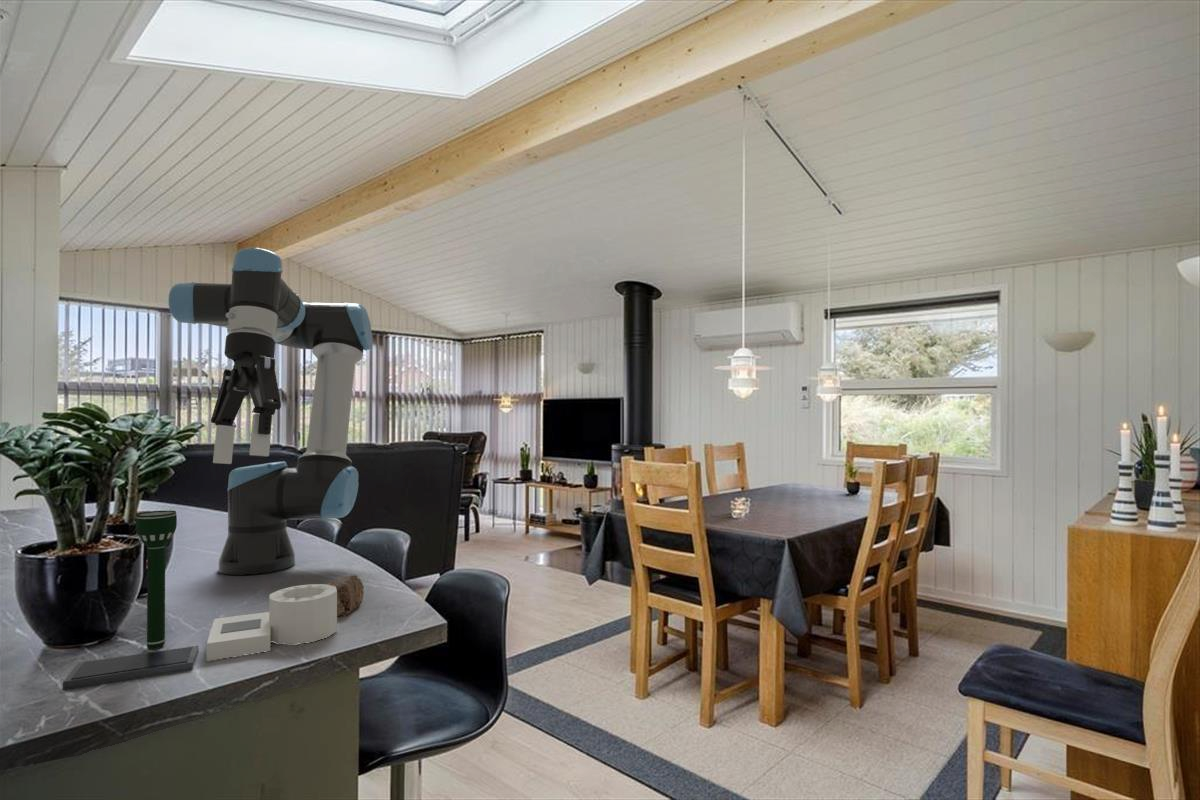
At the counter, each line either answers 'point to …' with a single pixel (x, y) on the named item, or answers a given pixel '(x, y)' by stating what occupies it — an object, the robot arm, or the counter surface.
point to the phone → (131, 667)
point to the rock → (348, 593)
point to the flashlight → (156, 568)
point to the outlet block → (277, 622)
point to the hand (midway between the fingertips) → (240, 459)
